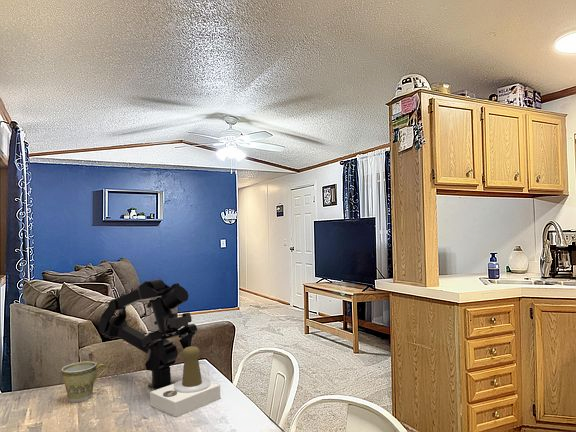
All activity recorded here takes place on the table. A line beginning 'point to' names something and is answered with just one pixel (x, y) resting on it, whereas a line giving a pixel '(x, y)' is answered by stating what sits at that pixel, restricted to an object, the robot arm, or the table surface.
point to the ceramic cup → (80, 380)
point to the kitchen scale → (184, 397)
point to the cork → (191, 367)
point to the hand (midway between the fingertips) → (178, 360)
